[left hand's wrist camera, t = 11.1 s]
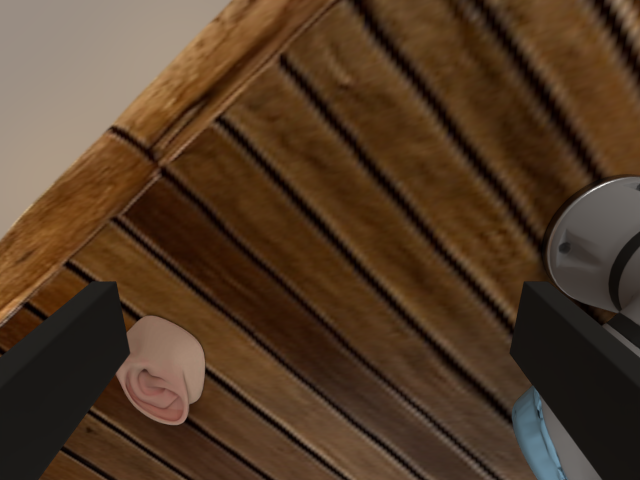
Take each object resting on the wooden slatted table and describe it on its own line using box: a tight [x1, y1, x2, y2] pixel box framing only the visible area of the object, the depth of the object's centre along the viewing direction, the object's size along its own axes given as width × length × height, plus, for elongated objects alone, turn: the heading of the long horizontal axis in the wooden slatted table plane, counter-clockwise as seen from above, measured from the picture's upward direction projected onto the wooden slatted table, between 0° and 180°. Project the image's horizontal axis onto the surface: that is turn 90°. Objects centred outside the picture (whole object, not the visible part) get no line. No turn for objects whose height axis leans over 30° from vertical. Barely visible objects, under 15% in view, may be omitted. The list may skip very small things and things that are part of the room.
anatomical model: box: [116, 316, 205, 425], centre depth 49 cm, size 13×4×12 cm
